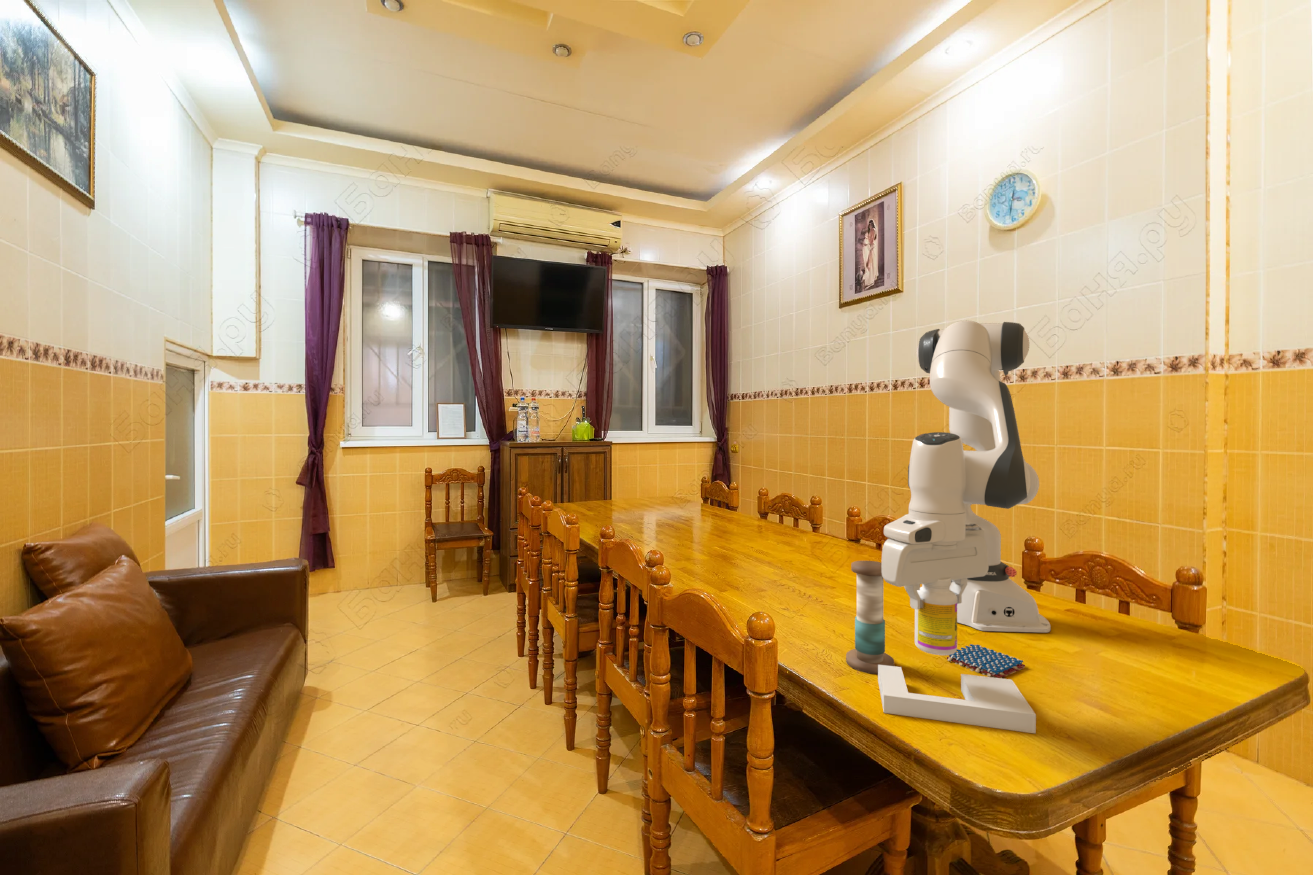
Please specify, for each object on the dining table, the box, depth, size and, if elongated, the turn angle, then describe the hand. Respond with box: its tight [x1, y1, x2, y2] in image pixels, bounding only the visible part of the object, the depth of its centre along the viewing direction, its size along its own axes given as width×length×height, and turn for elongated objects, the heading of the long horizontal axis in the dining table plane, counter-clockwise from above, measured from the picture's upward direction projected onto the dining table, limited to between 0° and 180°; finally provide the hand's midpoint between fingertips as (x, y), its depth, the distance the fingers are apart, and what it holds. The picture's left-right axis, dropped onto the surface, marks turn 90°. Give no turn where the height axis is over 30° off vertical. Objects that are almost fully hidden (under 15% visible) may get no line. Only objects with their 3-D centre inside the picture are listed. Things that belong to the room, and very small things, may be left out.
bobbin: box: [845, 560, 895, 675], centre depth 111 cm, size 9×9×20 cm
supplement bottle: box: [914, 578, 958, 656], centre depth 97 cm, size 7×7×13 cm
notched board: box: [877, 665, 1037, 734], centre depth 96 cm, size 22×12×3 cm, turn 73°
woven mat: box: [946, 643, 1026, 679], centre depth 111 cm, size 10×11×2 cm
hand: (935, 605), depth 97 cm, fingers closed on supplement bottle, 7 cm apart
